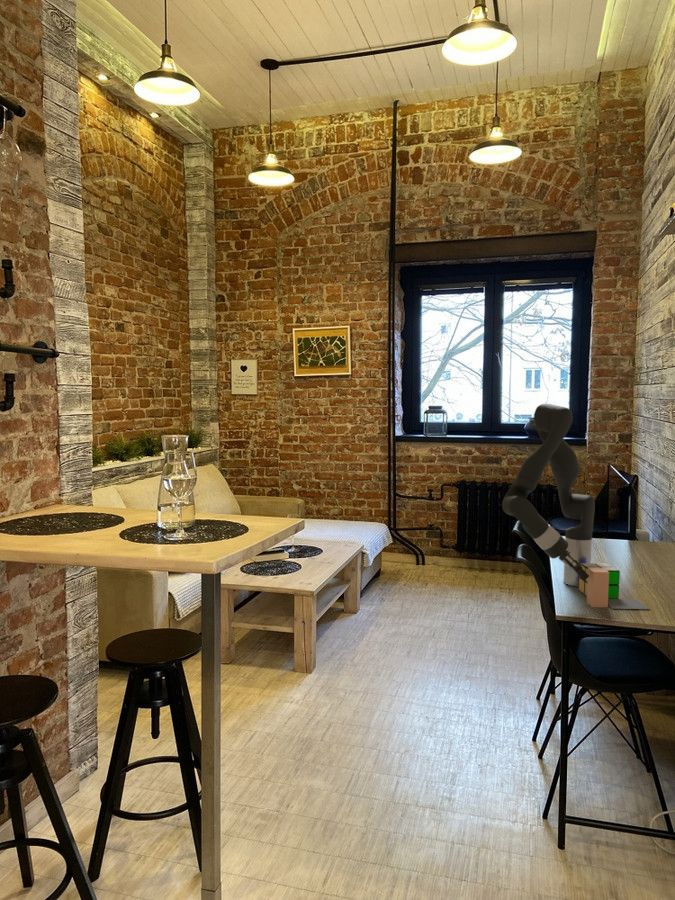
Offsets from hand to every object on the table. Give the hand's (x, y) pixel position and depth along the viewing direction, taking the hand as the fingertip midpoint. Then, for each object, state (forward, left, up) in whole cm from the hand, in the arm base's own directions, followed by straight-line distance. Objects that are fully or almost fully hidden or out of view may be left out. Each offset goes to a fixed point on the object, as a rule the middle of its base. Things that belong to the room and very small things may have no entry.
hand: (586, 577), depth 212 cm
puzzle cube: (-12, +9, -10) cm, 18 cm away
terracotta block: (0, +4, -9) cm, 10 cm away
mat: (-1, +13, -9) cm, 16 cm away
